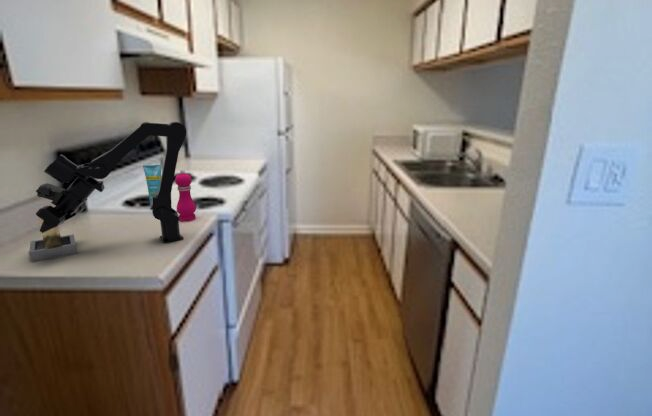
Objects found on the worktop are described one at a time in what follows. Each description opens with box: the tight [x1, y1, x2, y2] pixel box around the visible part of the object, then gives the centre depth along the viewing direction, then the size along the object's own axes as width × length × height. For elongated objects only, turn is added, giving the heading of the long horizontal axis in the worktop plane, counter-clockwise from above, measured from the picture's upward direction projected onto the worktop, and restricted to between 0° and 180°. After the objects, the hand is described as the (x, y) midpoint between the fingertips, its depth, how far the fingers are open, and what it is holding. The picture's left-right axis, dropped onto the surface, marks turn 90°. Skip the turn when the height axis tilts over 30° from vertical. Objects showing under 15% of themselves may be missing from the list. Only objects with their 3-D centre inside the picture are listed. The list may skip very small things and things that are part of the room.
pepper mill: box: [174, 169, 197, 222], centre depth 150 cm, size 7×7×20 cm
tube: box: [142, 164, 162, 205], centre depth 167 cm, size 7×5×19 cm, turn 103°
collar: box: [28, 234, 78, 263], centre depth 119 cm, size 11×11×3 cm
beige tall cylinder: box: [36, 208, 62, 248], centre depth 117 cm, size 4×4×13 cm
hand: (45, 229), depth 117 cm, fingers closed on beige tall cylinder, 4 cm apart
